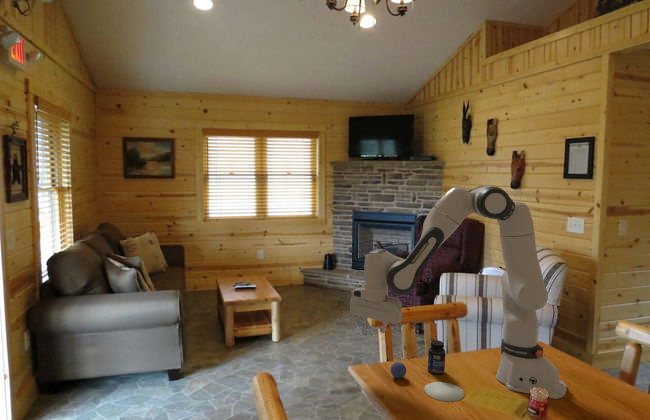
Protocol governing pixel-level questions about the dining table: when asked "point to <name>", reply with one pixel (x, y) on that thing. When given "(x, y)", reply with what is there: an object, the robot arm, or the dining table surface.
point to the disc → (444, 391)
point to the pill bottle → (436, 358)
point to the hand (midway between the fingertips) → (374, 330)
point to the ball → (398, 370)
